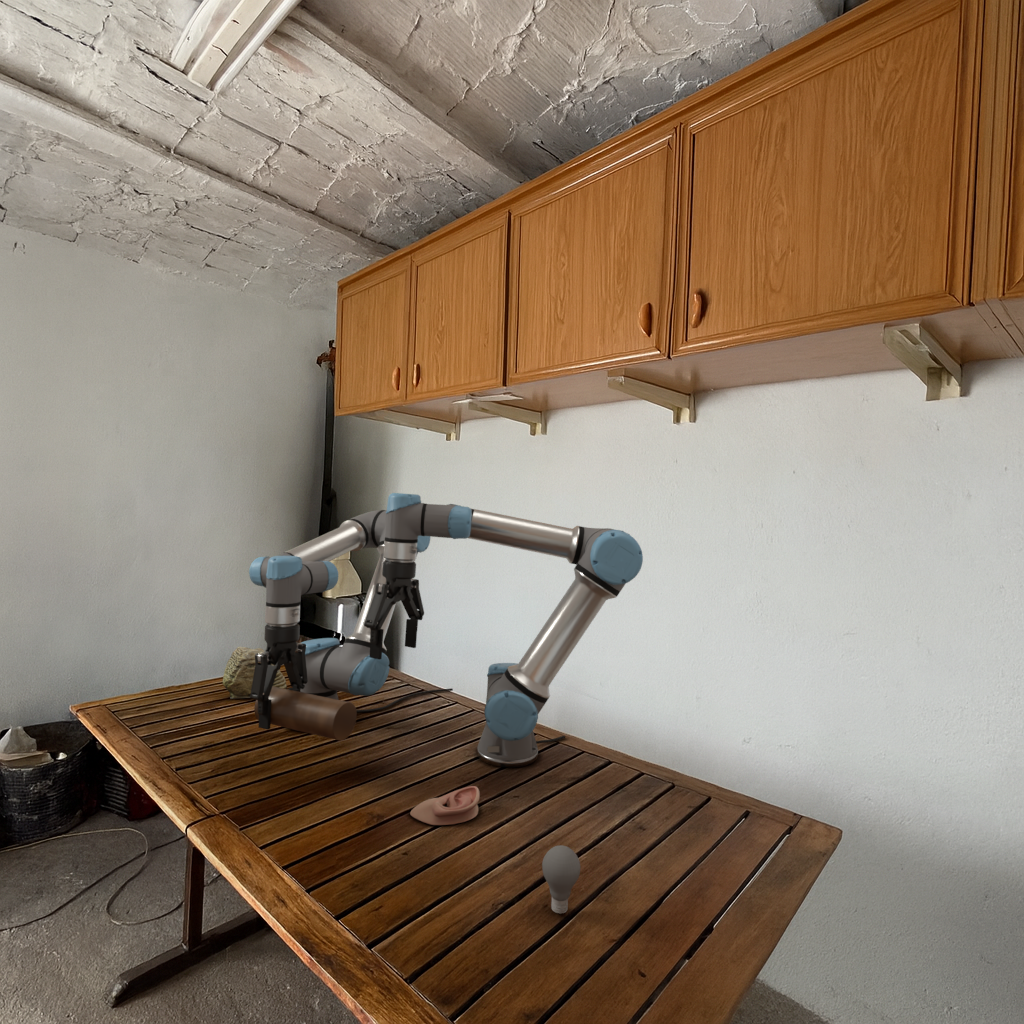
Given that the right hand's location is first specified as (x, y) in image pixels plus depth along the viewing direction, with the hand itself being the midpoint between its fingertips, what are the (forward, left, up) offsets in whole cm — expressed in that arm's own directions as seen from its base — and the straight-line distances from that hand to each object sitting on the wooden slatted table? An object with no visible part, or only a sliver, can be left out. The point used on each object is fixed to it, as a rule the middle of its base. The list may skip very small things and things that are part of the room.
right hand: (393, 652), depth 146 cm
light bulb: (-10, +58, -28) cm, 65 cm away
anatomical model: (-5, +22, -28) cm, 36 cm away
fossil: (+23, -70, -28) cm, 79 cm away
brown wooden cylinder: (+18, -6, -18) cm, 26 cm away
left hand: (+23, -11, -17) cm, 31 cm away
